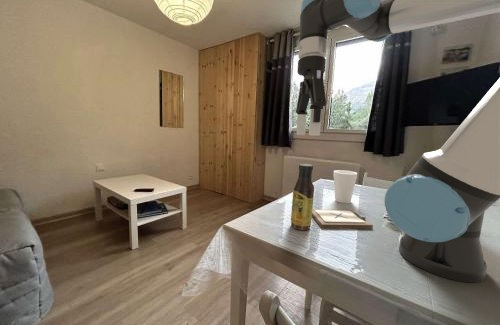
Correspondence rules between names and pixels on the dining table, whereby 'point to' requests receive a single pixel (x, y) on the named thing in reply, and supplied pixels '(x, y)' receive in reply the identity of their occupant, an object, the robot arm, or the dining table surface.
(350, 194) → the foam cup
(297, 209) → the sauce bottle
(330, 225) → the wooden board
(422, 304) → the dining table surface
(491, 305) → the dining table surface
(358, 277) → the dining table surface
